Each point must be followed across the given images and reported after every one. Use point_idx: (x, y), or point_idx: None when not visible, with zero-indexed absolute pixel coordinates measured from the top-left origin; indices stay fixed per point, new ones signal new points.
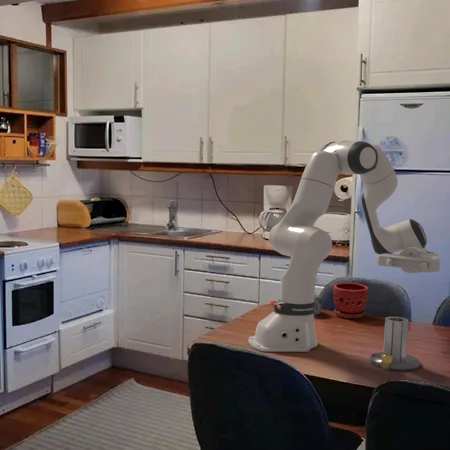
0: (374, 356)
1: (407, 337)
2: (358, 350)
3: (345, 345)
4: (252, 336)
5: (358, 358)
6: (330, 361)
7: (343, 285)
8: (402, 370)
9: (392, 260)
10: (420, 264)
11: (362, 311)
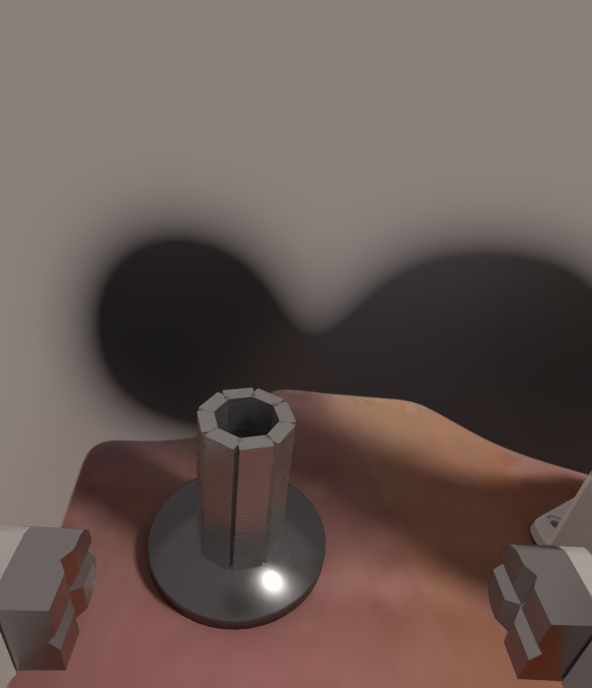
0: (311, 531)
1: (197, 464)
2: (405, 635)
3: (488, 685)
4: None
5: (363, 539)
6: (421, 482)
7: None
8: None
9: (567, 619)
10: (42, 527)
11: None
